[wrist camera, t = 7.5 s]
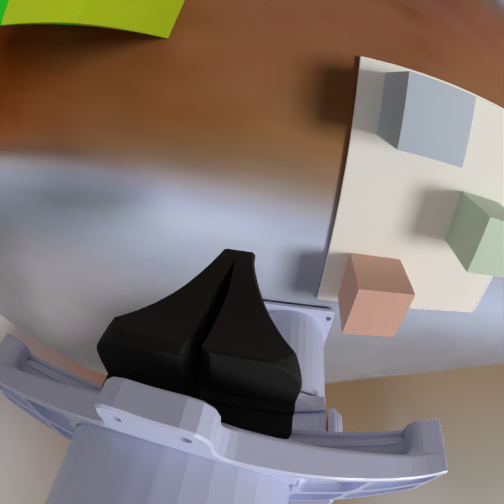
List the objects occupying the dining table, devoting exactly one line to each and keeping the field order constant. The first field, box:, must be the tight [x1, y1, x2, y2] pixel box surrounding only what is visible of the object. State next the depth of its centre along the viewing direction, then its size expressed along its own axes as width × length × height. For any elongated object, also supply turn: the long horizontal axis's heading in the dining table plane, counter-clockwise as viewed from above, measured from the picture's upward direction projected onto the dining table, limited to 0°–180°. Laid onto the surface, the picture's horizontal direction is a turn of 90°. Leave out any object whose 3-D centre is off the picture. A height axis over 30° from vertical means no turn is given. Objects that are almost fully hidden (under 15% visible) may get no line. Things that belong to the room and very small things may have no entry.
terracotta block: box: [338, 253, 415, 337], centre depth 22 cm, size 4×4×4 cm
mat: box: [317, 56, 504, 312], centre depth 19 cm, size 20×18×1 cm
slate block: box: [377, 71, 476, 168], centre depth 14 cm, size 4×4×4 cm
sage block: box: [445, 191, 504, 277], centre depth 17 cm, size 4×4×4 cm
